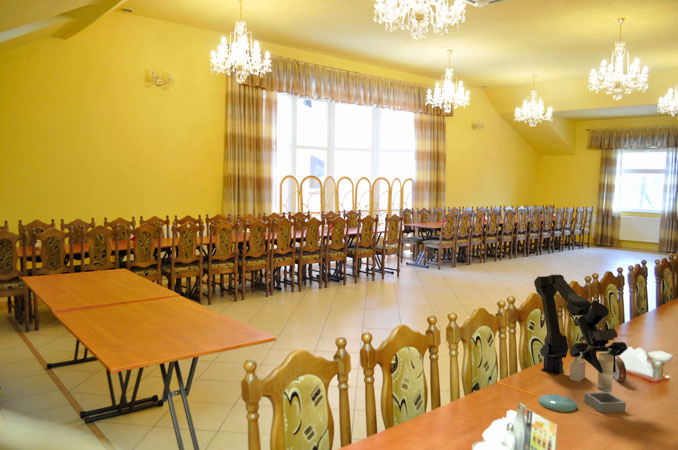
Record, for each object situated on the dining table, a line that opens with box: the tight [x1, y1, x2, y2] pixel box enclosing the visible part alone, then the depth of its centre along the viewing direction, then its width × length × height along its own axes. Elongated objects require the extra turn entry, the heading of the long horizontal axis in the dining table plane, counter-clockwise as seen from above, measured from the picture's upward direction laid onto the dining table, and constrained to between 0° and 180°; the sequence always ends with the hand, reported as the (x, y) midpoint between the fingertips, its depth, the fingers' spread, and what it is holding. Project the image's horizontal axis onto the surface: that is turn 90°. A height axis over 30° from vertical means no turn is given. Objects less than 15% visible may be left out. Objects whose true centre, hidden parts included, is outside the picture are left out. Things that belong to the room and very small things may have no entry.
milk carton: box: [569, 352, 587, 383], centre depth 198 cm, size 4×7×10 cm, turn 138°
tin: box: [613, 355, 627, 382], centre depth 200 cm, size 15×3×8 cm, turn 168°
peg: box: [597, 352, 614, 393], centre depth 172 cm, size 4×4×12 cm
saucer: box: [538, 394, 578, 413], centre depth 174 cm, size 12×12×1 cm
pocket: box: [583, 391, 627, 413], centre depth 173 cm, size 9×9×3 cm
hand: (608, 372), depth 171 cm, fingers closed on peg, 4 cm apart
